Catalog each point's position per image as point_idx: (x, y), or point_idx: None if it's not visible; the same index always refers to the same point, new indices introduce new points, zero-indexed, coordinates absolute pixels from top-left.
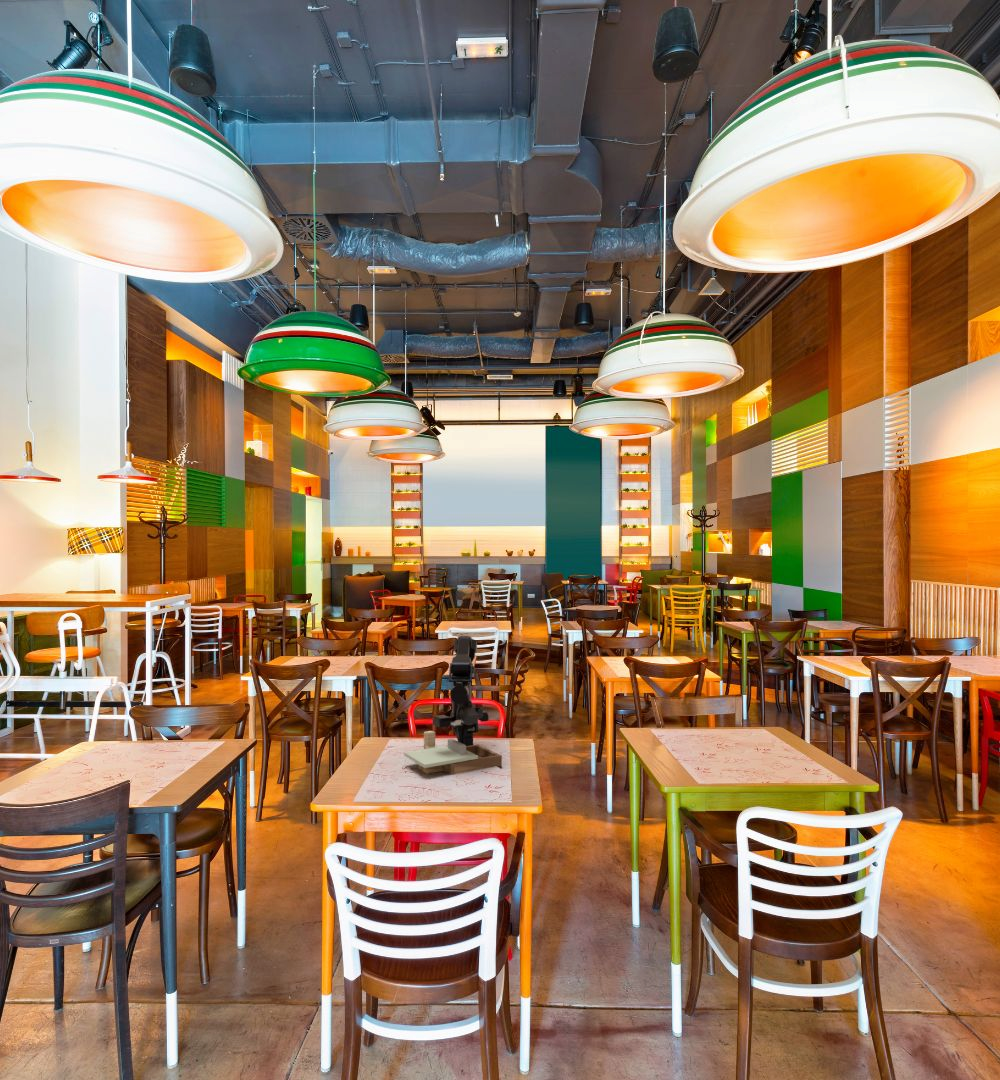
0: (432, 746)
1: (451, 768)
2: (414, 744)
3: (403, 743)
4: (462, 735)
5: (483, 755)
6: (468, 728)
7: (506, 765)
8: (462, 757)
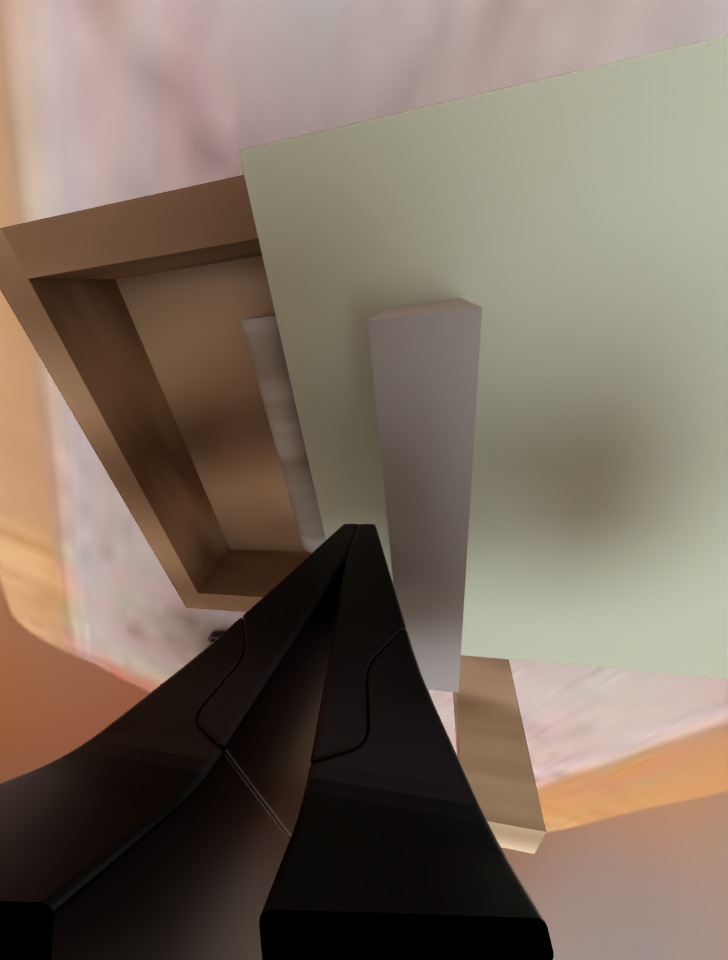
0: (478, 697)
1: None
2: None
3: None
4: (317, 629)
5: (188, 488)
6: (71, 760)
7: None
8: (524, 142)
